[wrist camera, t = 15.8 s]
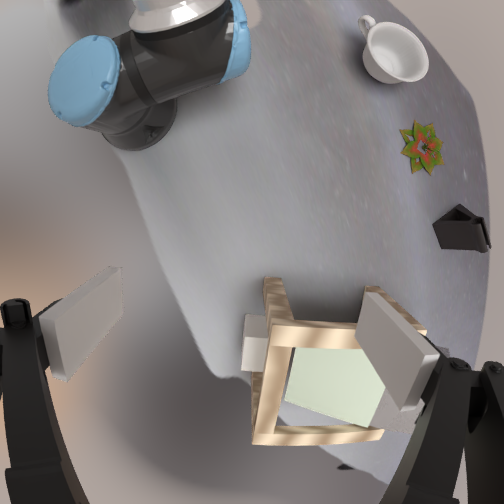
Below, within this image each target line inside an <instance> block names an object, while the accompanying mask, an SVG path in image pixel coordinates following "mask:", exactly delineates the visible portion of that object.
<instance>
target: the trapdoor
mask: <svg viewBox="0 0 504 504" xmlns="http://www.w3.org/2000/svg"><path fill="white" fill-rule="evenodd" d="M435 347H437V348H438V349H439V350H440V351H441V352H442V353H443V354H444V355H445V356H446V357H447V358H450V353H449V349H448V348H443V347H439V346H435ZM284 400H285V401H287V402H290V403H293V404H295V405H298V406H301V407H304V408H306V409H309V410H312V411H315V412H318V413H321V414H324V415H327V416H330V417H333V418H336V419H340V420H343V421H346V422H350V423H353V424H356V425H360V426H363V427H367V428H368V426H373V427H377V428H380V429H384V430H388V431H392V432H395V431H399V432H403V433H408V434H413V431H414V429H415V426H416V424H414V423H415V421H416V419H417V417H418V415H419V414H420V412H421V410H422V408H423V406H424V404H425V403H424V402H423V400H422V399H421V398H420V400H419V402H418V404H417V406H416V408H415V410H409V411H402V412H400V411H399V409H398V407H397V406H396V404H395V402H394V401H393V399H392V397H391V395H390V394H389V392H388V390H387V389H386V387H385V386H384V384H383V382H382V381H381V379H380V377H379V376H378V374H377V372H376V371H375V369H374V367H373V366H372V364H371V363H370V361H369V359H368V358H367V356H366V355H365V353H364V351H363V350H362V349H325V348H301V347H296V349H295V354H294V358H293V363H292V368H291V372H290V377H289V381H288V386H287V390H286V395H285V399H284Z"/></svg>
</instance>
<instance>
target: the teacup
mask: <svg viewBox="0 0 504 504" xmlns="http://www.w3.org/2000/svg"><path fill="white" fill-rule="evenodd" d="M365 21H366V22H368V24H369V25H370V28H369V30H370V31H368V29H367V27H366V25H365ZM358 25H359V28H360V30H361V32H362V33H363V35H364V36H365V38H366V42H367V44H366V46H365V48H364V51H363V62H364V65H365V68H366V69H367V71H368V73H369V74H370V75H371V76H372V77H374V78H375V79H377V80H378V81H381V82H383V83H387V84H394V83H399V82H402V81H407V82H414V81H418V80H420V79H421V78H423V77H424V76H425V74H426V73H427V70H428V65H429V63H428V56H427V53H426V50H425V48H424V46H423V45H422V43H421V41H420V40H419V39H418V38H417V37H416V36H415V35H414V34H413V33H412V32H411V31H409V30H408V29H406V28H405V27H403V26H401V25H398V24H396V23H392V22H381V23H378V24H376V22H375V20H374V19H373V18H372V17H370V16H368V15H364V16H362V17H360V18H359V20H358Z"/></svg>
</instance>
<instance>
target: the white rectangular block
mask: <svg viewBox="0 0 504 504" xmlns="http://www.w3.org/2000/svg"><path fill="white" fill-rule="evenodd" d="M267 343H268V331H267V323H266V316H262V315H250V314H245V323H244V332H243V341H242V361H241V370H242V371H254V372H263V368H264V362H265V356H266V350H267Z"/></svg>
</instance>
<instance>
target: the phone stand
mask: <svg viewBox="0 0 504 504" xmlns="http://www.w3.org/2000/svg"><path fill="white" fill-rule="evenodd" d="M433 227H434V229H435V232H436V235H437V237H438V240H439V243H440V246H441V249H457V250H476V251H479V252H480V253H485V252H487V251H488V249H487V245H489V248H490V249H491V243H490V239H489V235H488V231H487V228H486V224H485V221H484V218H483V217H478V216H476V215H474V214H473V213H472V212H470V211H469V210H468V209H466V208H465V207H464V206H462V205H461V204H458V205H457V206H456V207H455V208H453V209H452V210H451V211H449V212H448V213H447V214H445V215H444V216H443V217H441V218H440V219H439V220H437V221H436V222H435V223H433Z"/></svg>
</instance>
